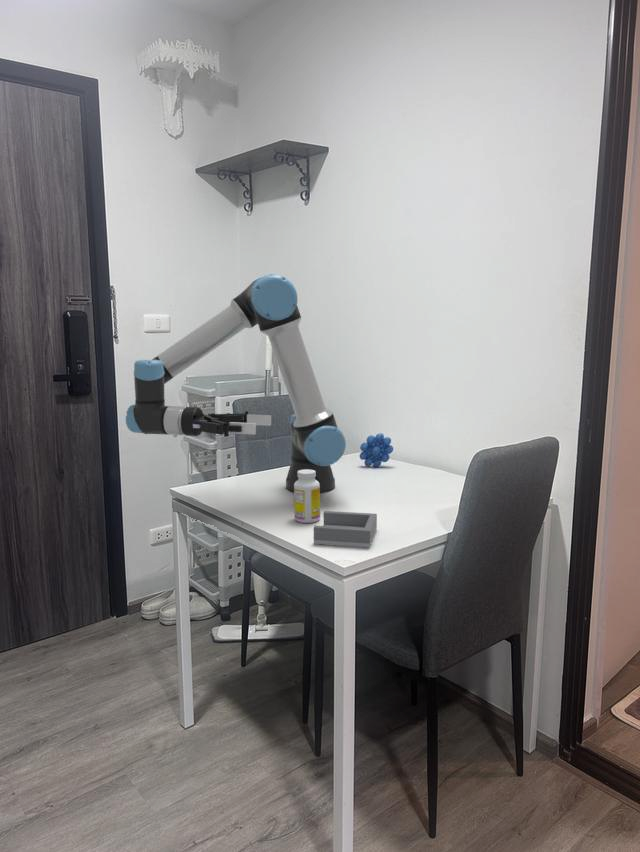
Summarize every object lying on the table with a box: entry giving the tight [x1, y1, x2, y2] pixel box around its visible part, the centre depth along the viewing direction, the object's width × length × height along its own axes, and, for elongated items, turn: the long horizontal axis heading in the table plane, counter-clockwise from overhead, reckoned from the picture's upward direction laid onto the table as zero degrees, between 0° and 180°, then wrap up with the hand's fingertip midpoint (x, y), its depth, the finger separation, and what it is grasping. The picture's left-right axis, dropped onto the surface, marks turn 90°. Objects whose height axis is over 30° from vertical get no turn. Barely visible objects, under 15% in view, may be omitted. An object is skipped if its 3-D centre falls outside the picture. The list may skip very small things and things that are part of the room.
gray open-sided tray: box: [313, 510, 378, 549], centre depth 153 cm, size 13×13×4 cm
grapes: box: [359, 432, 394, 468], centre depth 223 cm, size 12×7×12 cm, turn 84°
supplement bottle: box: [293, 469, 321, 524], centre depth 165 cm, size 7×7×13 cm
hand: (263, 424), depth 164 cm, fingers open, 13 cm apart
